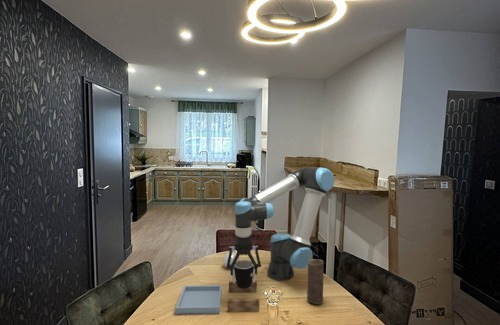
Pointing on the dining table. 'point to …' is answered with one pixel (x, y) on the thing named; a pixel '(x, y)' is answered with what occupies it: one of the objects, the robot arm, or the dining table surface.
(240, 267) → the mug
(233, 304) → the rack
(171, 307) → the dining table surface
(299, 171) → the robot arm
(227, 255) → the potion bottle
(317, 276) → the candle
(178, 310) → the tray
